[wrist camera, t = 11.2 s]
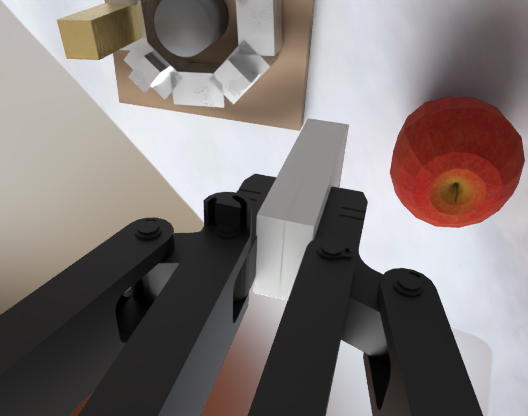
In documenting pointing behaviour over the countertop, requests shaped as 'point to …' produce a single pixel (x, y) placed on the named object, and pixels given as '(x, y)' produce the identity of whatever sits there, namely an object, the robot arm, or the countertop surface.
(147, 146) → the countertop surface
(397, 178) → the apple
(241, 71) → the white blocky ring
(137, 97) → the board
